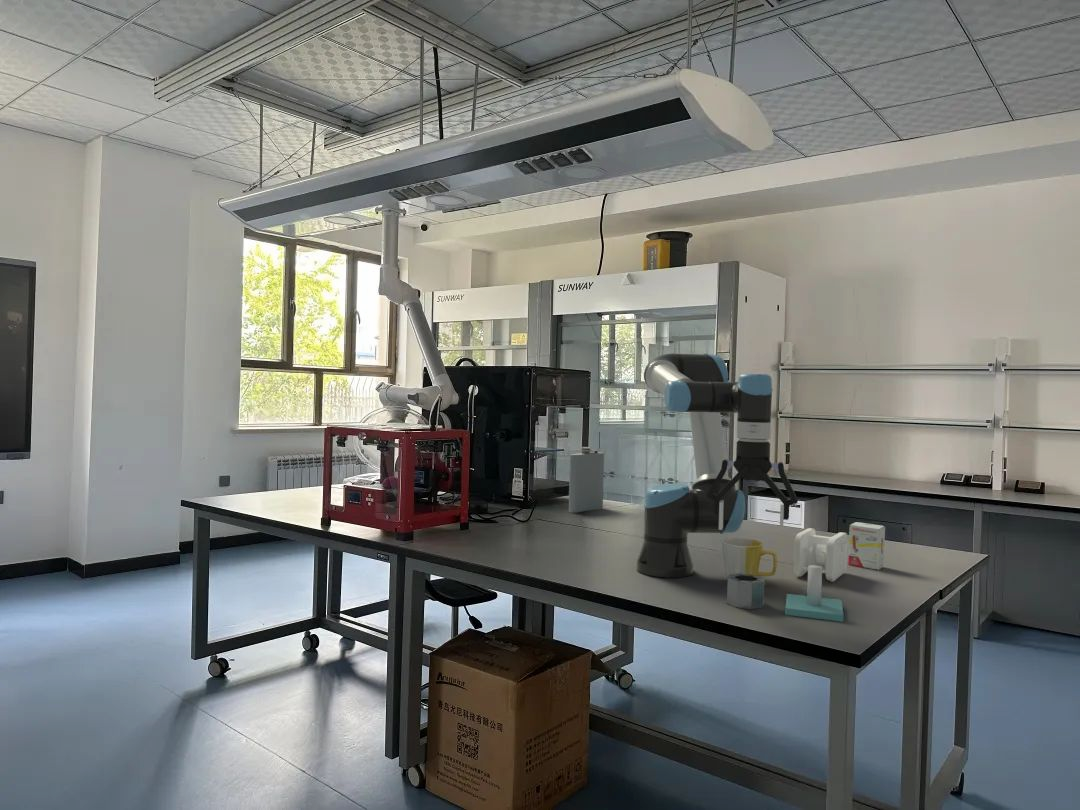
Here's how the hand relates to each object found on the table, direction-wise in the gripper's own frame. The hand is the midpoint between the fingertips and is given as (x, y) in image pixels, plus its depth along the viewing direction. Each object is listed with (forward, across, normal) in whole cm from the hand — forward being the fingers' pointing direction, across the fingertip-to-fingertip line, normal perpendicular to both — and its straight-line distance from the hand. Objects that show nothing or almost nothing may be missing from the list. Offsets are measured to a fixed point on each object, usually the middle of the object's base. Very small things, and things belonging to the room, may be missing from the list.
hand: (750, 531), depth 173 cm
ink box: (+17, +30, +50) cm, 61 cm away
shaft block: (+17, +14, 0) cm, 22 cm away
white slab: (+17, -68, +105) cm, 126 cm away
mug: (+17, -1, +18) cm, 25 cm away
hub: (+17, -1, -1) cm, 17 cm away
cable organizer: (+17, +17, +34) cm, 42 cm away
